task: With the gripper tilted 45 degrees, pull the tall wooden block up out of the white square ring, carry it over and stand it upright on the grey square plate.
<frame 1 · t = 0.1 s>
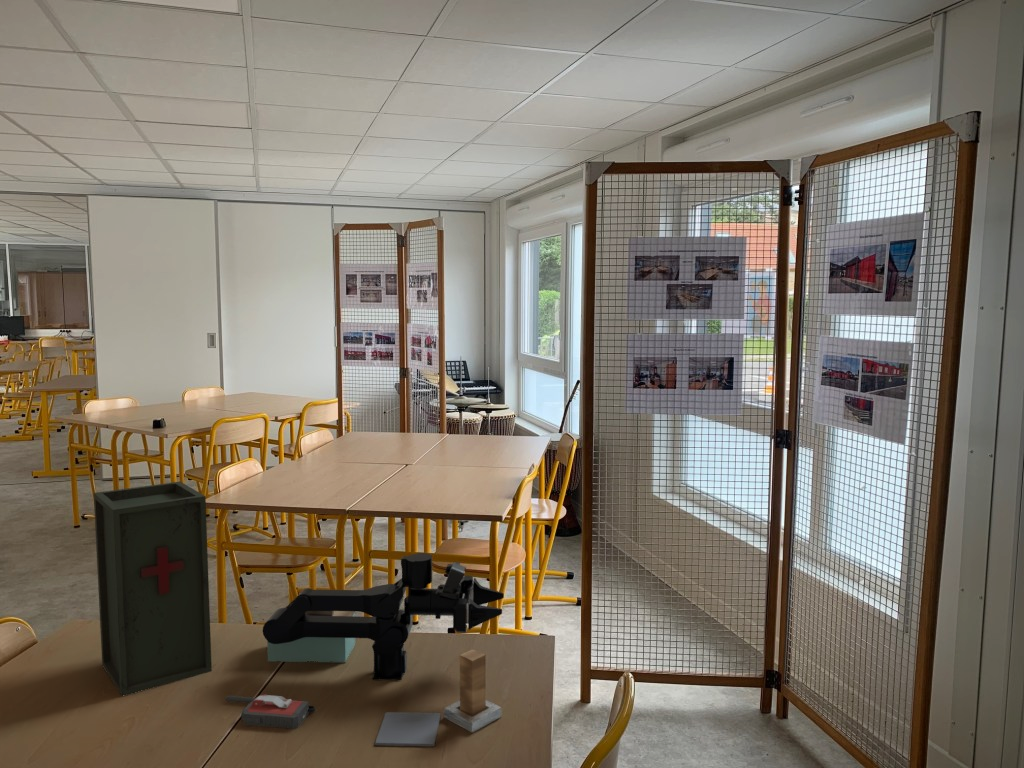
hand: (502, 603, 171), 17 cm above the table, tool horizontal, fingers open, 9 cm apart
white square ring: (472, 717, 155), on the table
grey square plate: (409, 729, 150), on the table
walkie-talkie: (264, 717, 156), on the table
first aid box: (156, 668, 175), on the table
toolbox: (312, 652, 183), on the table
tall wooden block: (472, 686, 154), in the white square ring
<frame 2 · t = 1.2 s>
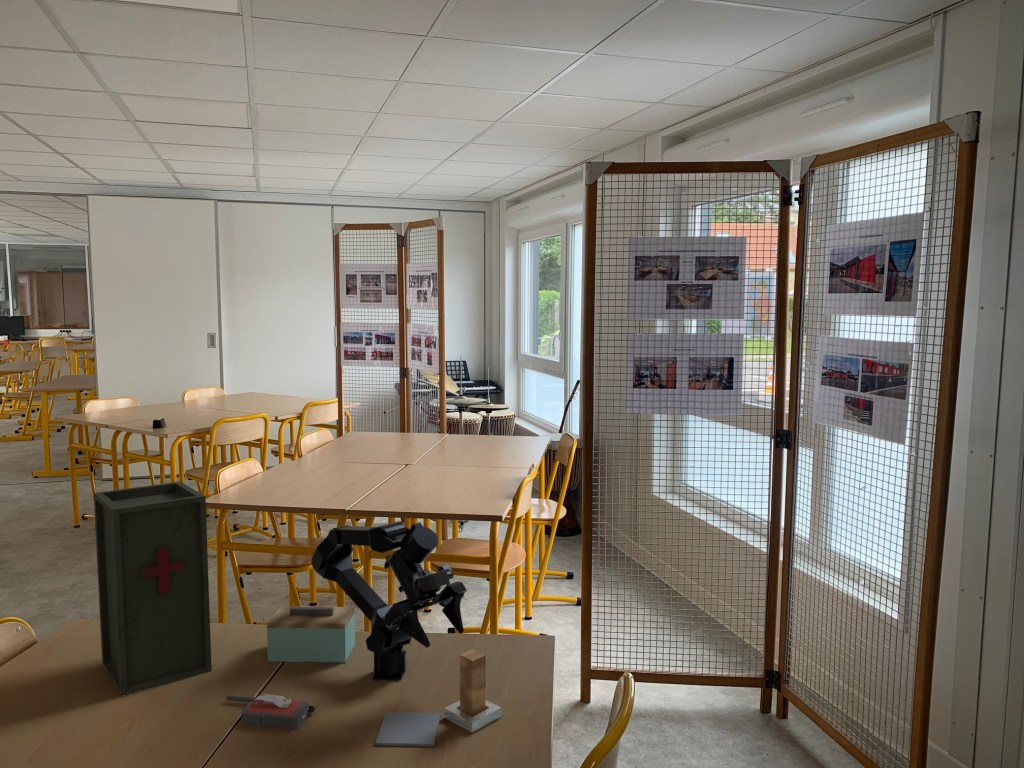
hand: (445, 639, 159), 14 cm above the table, tool tilted 45°, fingers open, 9 cm apart
nothing on the table moved.
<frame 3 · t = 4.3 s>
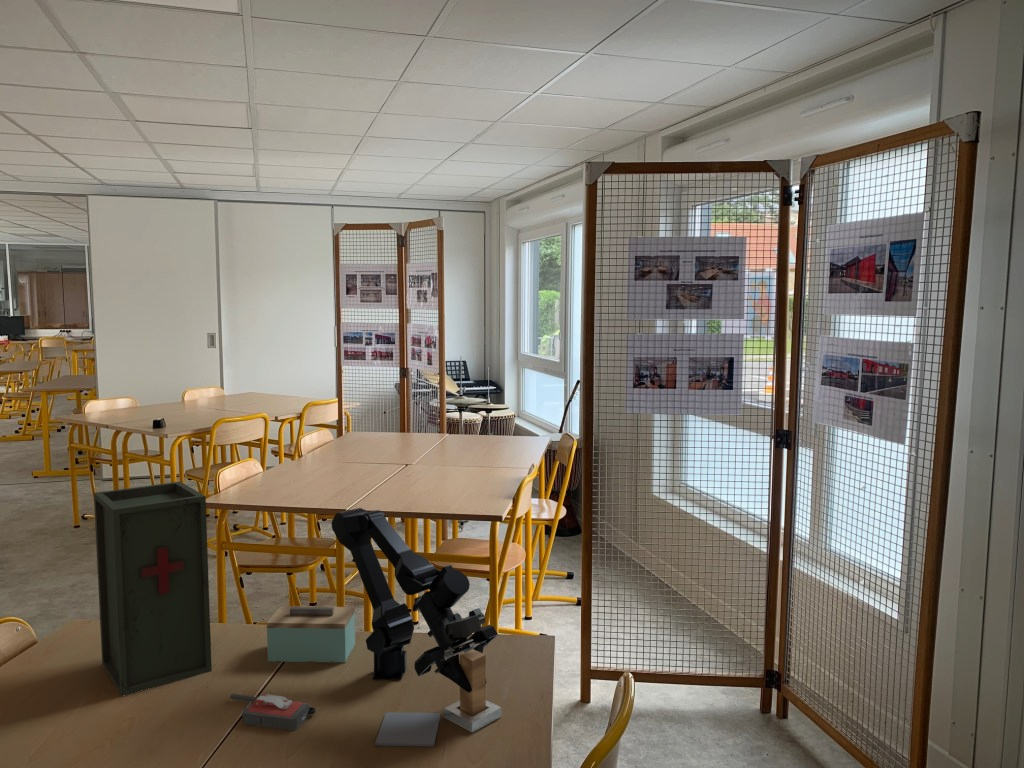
hand: (477, 688, 153), 7 cm above the table, tool tilted 45°, fingers closed on tall wooden block, 4 cm apart
tall wooden block: (472, 686, 154), in the white square ring, touching gripper
everything else where it was.
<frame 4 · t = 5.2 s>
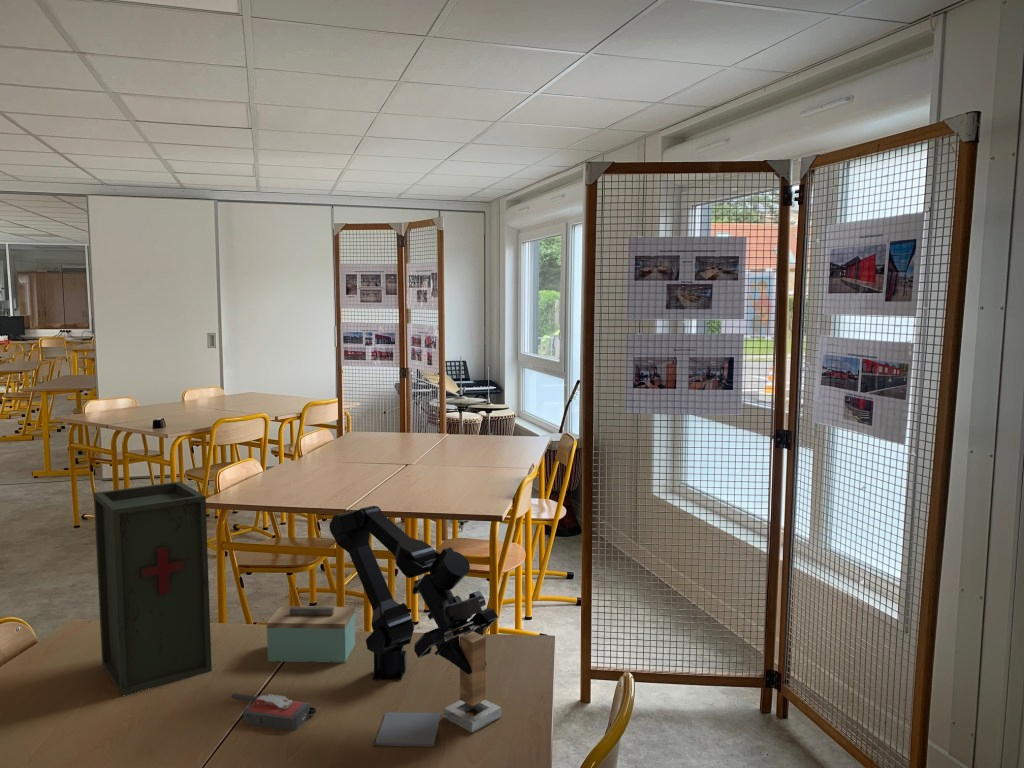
hand: (477, 670, 153), 10 cm above the table, tool tilted 45°, fingers closed on tall wooden block, 4 cm apart
tall wooden block: (472, 668, 154), point 10 cm above the table, touching gripper
everything else where it was.
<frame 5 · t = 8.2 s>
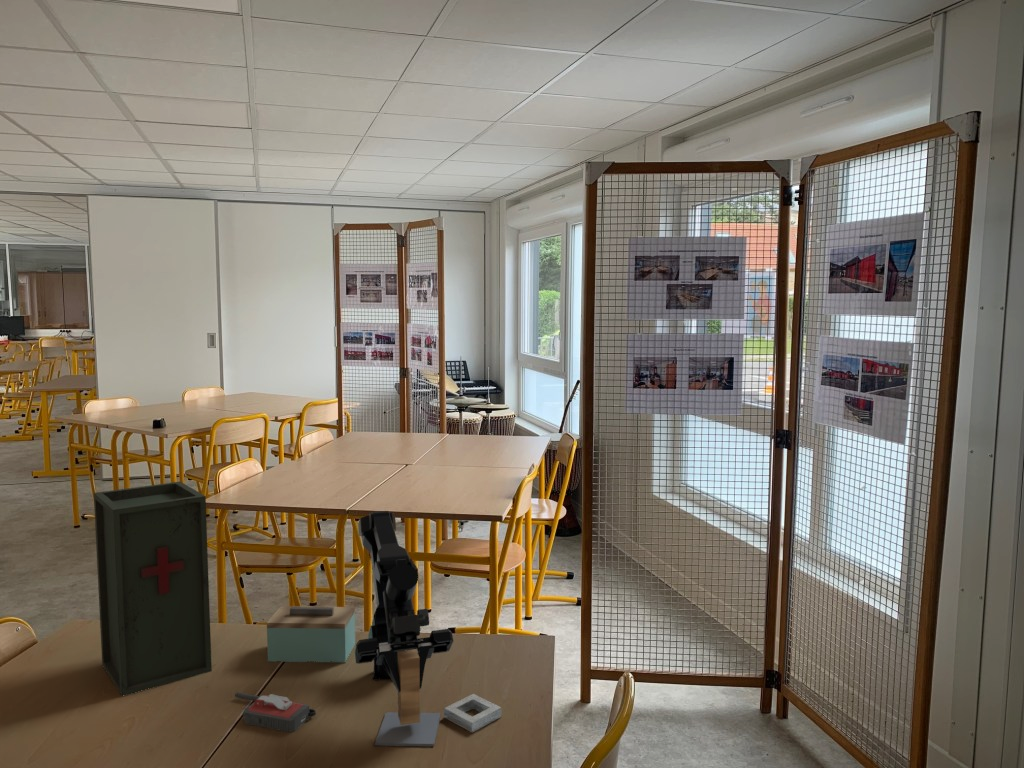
hand: (409, 689, 148), 9 cm above the table, tool tilted 45°, fingers closed on tall wooden block, 4 cm apart
tall wooden block: (408, 686, 149), point 9 cm above the table, touching gripper
when the fingers open (8 cm above the table, at t = 8.6 s): tall wooden block drops 1 cm, resting on grey square plate.
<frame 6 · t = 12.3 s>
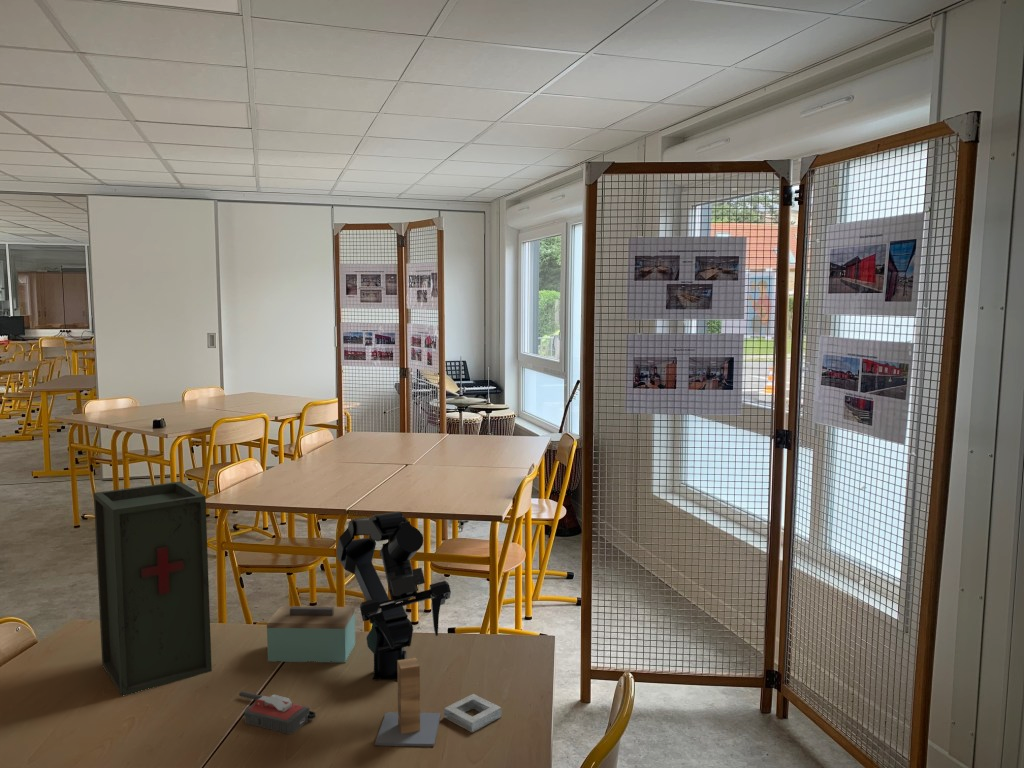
hand: (414, 641, 158), 13 cm above the table, tool tilted 35°, fingers open, 9 cm apart
tall wooden block: (408, 695, 149), on the grey square plate
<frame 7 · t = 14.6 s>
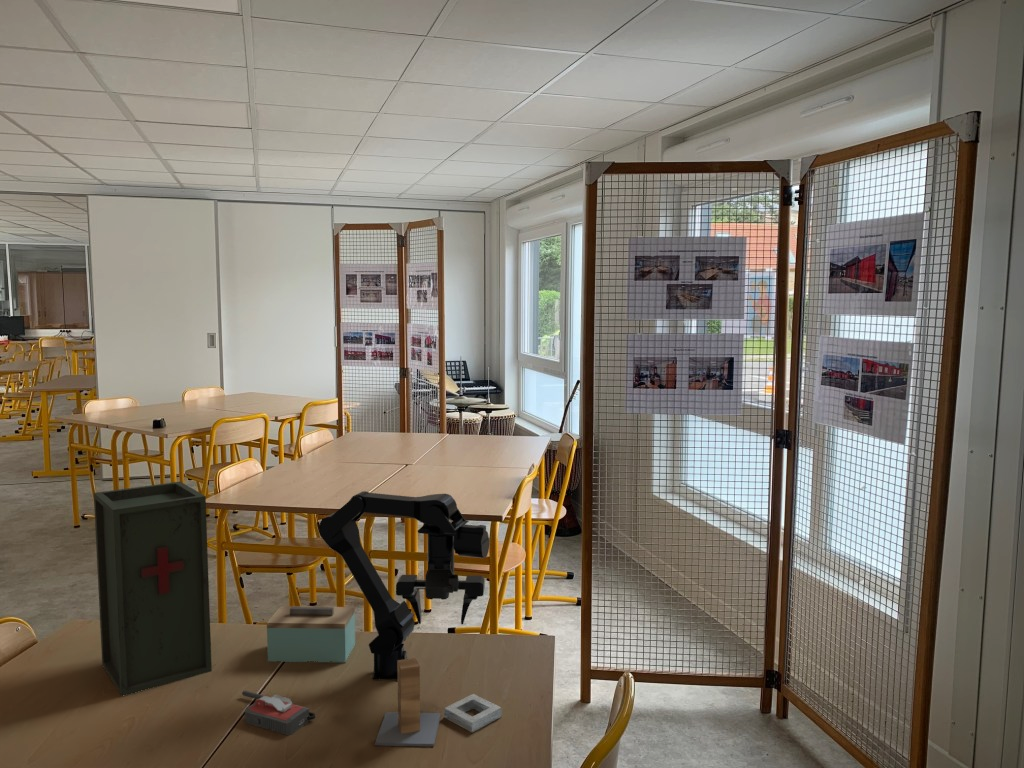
hand: (441, 623, 168), 13 cm above the table, tool pointing down, fingers open, 9 cm apart
at the end: tall wooden block inside the target area on the grey square plate (0.0 cm from its centre), point 7.0 cm above the grey square plate's base; tall wooden block tilted 0°; the gripper is holding nothing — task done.
